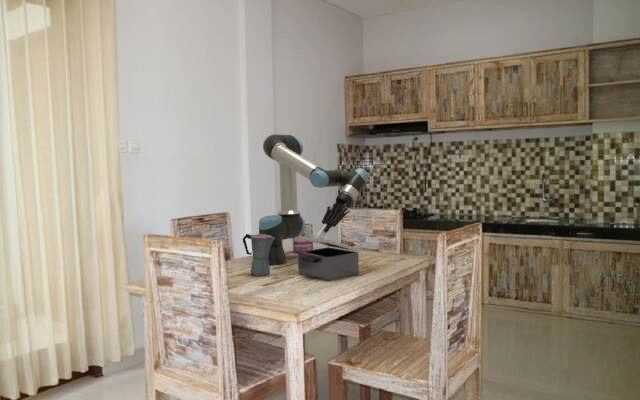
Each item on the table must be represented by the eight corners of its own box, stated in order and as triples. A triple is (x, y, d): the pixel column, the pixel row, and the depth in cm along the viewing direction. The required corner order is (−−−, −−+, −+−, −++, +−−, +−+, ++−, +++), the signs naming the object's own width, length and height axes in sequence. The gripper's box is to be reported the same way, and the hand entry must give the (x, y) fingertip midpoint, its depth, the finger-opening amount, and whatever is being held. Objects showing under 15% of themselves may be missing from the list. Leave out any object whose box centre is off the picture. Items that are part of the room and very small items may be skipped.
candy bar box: (311, 250, 282) (311, 222, 281) (313, 252, 277) (312, 223, 276) (292, 251, 280) (291, 223, 279) (293, 253, 275) (292, 224, 274)
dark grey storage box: (294, 274, 219) (293, 252, 218) (329, 268, 232) (328, 247, 231) (323, 282, 203) (322, 258, 203) (358, 274, 216) (358, 252, 215)
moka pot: (272, 277, 215) (271, 231, 214) (239, 276, 218) (238, 231, 217) (278, 272, 224) (277, 229, 223) (246, 271, 227) (245, 228, 226)
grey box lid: (297, 238, 220) (298, 235, 220) (328, 246, 232) (329, 244, 232) (328, 243, 204) (328, 240, 204) (359, 251, 215) (360, 249, 216)
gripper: (361, 203, 220) (333, 244, 211) (341, 202, 230) (314, 241, 221) (352, 191, 217) (324, 233, 207) (332, 191, 227) (305, 230, 217)
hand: (319, 237), depth 214 cm, fingers closed
